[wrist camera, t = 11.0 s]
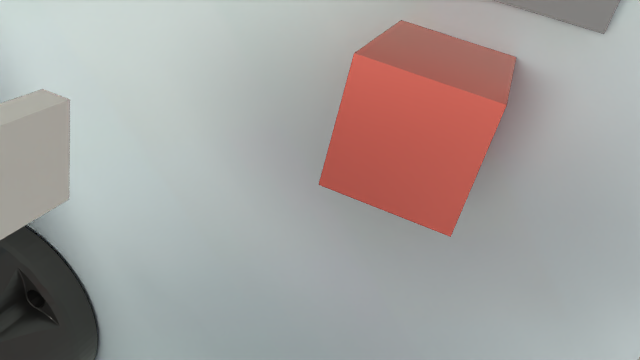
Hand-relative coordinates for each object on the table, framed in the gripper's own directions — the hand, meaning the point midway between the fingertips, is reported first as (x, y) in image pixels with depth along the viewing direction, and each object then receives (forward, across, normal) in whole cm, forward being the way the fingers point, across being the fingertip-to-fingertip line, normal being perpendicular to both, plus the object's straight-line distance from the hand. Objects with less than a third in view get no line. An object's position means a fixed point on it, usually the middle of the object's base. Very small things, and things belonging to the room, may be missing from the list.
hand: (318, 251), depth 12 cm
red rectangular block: (+15, 0, 0) cm, 15 cm away
